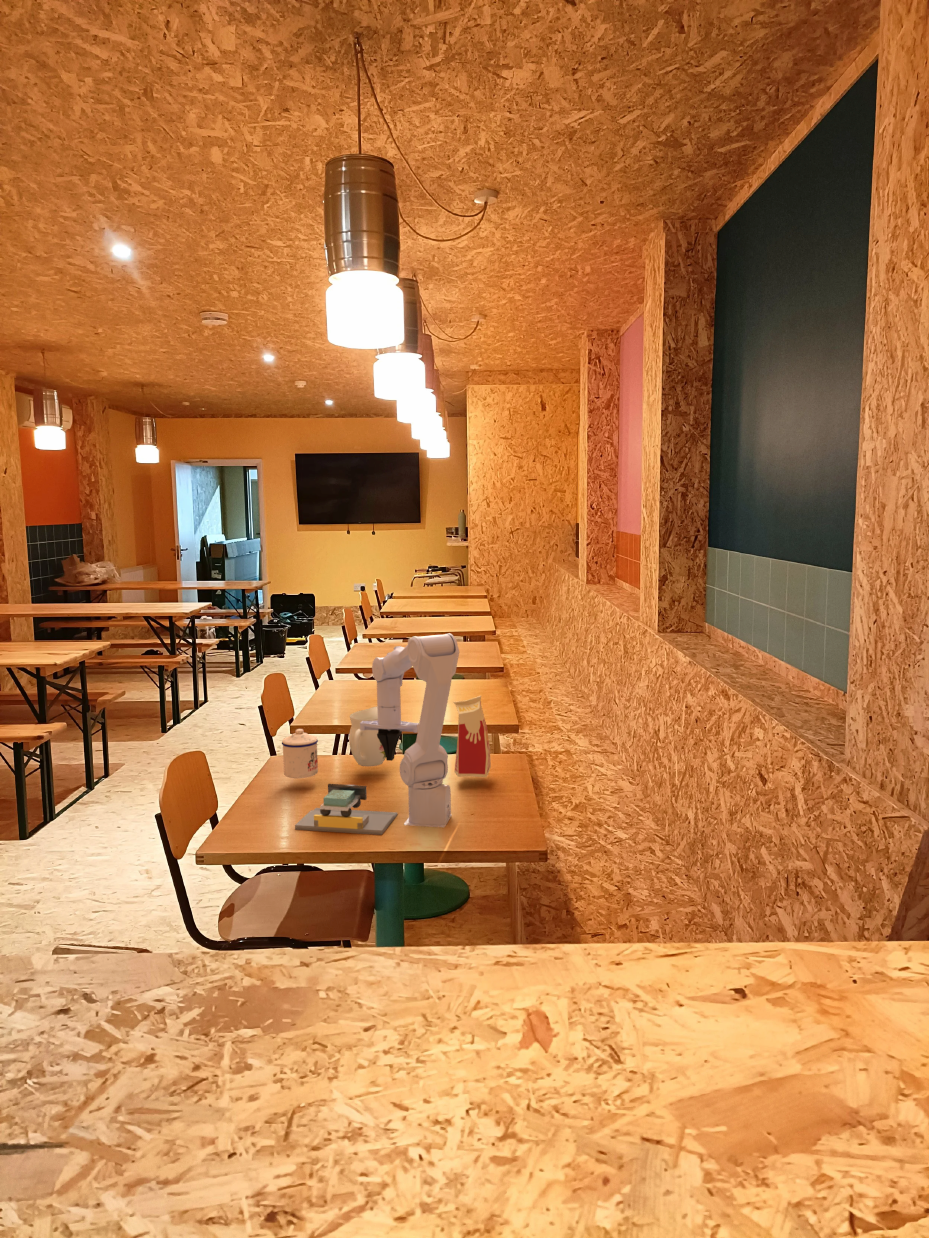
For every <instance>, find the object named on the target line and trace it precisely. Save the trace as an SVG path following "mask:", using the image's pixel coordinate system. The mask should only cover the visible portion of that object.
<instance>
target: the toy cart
mask: <svg viewBox="0 0 929 1238" xmlns="http://www.w3.org/2000/svg"><path fill="white" fill-rule="evenodd" d="M367 797H368V796H367V785H360V784H359V785H358V784H340V783H328V784H327V794H325V796H324V797H323V803H322V804H321V805H319V808H320V813H321V815H323V816H328V815H329V814H330V813H331V810H340V811H341V815H342V816H343V817H349V816H350V815H351V813H352V810H353V809H352V808H354V809H358V808H360V806H361V804H362V801H366V800H367Z"/></svg>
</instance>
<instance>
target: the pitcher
mask: <svg viewBox="0 0 929 1238" xmlns="http://www.w3.org/2000/svg"><path fill="white" fill-rule="evenodd" d="M349 719H350V725H351V727H350V729H349V733H348V740H349V748H350V752H351V754H352V757H353V759H354V760H355V762H356V763H357V764H358V765H359V766H362V767H377V766H380V765H382V764H383V763H384V761H385V760H386V755H385V752H384V749H383V746H382V744H381V742H380V740H379V739H378V737H377V734H378V730H364V731H361V730H360V723H361V722H362V721H378V711H377V706H373V707H370V708H366V709H362V710H359V711H355V712H353V713H351V714H350V715H349Z"/></svg>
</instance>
